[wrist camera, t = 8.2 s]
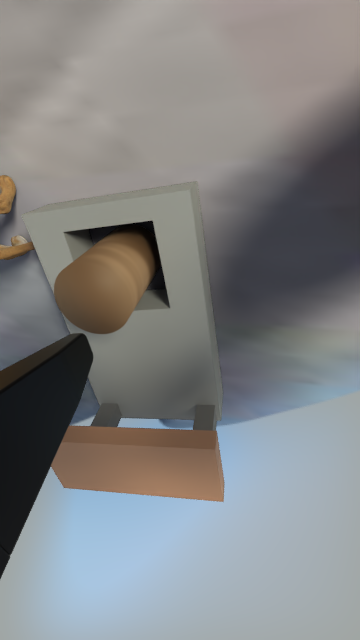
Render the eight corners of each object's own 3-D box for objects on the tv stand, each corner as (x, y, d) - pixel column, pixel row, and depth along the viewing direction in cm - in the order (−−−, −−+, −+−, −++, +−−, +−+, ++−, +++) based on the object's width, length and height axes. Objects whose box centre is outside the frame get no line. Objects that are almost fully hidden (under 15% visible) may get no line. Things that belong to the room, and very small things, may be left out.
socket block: (197, 181, 18) (189, 189, 15) (223, 392, 26) (221, 420, 24) (48, 204, 20) (21, 214, 18) (116, 392, 29) (104, 417, 26)
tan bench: (223, 346, 24) (215, 449, 16) (228, 392, 26) (223, 501, 19) (95, 349, 26) (35, 440, 19) (111, 392, 29) (64, 487, 21)
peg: (155, 220, 20) (118, 259, 14) (167, 277, 22) (138, 332, 16) (99, 227, 20) (41, 266, 15) (114, 282, 22) (69, 335, 17)
